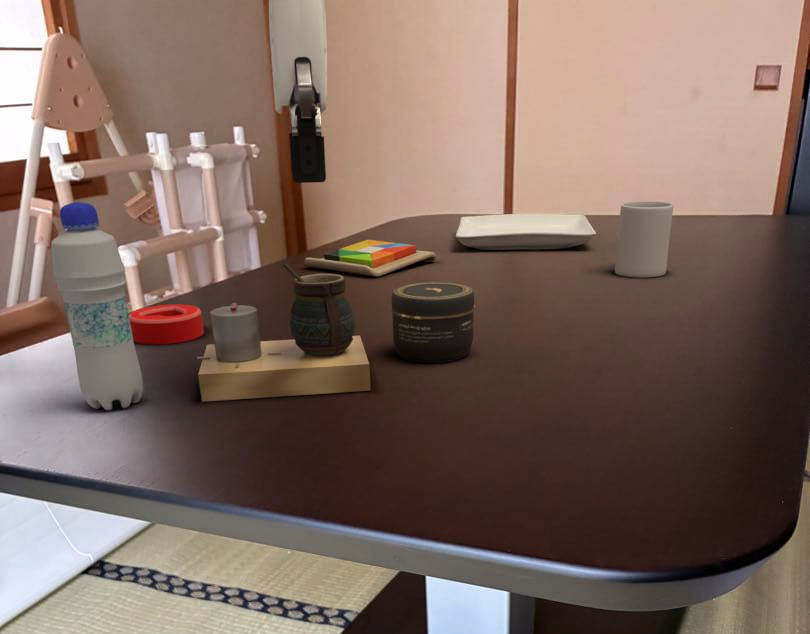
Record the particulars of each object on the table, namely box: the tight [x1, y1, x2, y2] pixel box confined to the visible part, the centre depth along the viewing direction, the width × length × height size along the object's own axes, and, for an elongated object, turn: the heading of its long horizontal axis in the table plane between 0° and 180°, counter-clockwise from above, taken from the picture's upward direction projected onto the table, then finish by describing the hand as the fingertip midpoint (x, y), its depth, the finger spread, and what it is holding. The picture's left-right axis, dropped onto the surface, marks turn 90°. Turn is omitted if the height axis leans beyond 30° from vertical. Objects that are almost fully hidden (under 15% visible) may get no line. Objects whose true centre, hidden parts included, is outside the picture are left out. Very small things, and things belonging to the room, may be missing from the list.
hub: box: [209, 302, 262, 362], centre depth 92 cm, size 5×5×5 cm
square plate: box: [455, 213, 597, 251], centre depth 175 cm, size 27×27×4 cm
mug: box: [614, 201, 674, 279], centre depth 142 cm, size 12×8×11 cm
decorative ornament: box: [129, 303, 205, 345], centre depth 114 cm, size 10×10×3 cm
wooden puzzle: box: [304, 239, 437, 278], centre depth 155 cm, size 18×19×4 cm
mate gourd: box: [280, 262, 356, 356], centre depth 91 cm, size 7×8×10 cm
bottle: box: [50, 201, 144, 411], centre depth 84 cm, size 7×7×20 cm
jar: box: [390, 281, 476, 364], centre depth 101 cm, size 10×10×8 cm
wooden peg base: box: [196, 335, 371, 403], centre depth 94 cm, size 19×12×3 cm, turn 97°
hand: (308, 177), depth 85 cm, fingers open, 9 cm apart
